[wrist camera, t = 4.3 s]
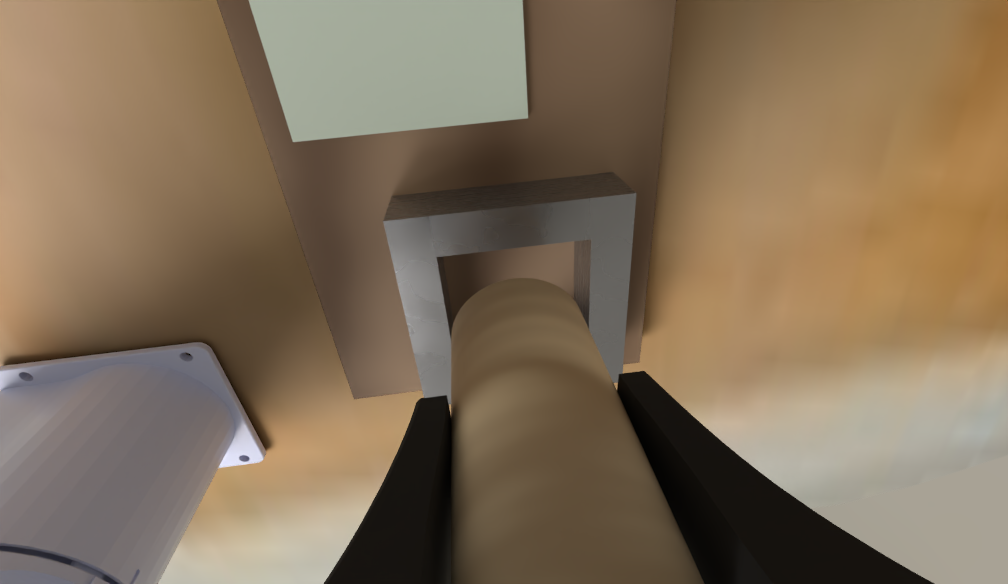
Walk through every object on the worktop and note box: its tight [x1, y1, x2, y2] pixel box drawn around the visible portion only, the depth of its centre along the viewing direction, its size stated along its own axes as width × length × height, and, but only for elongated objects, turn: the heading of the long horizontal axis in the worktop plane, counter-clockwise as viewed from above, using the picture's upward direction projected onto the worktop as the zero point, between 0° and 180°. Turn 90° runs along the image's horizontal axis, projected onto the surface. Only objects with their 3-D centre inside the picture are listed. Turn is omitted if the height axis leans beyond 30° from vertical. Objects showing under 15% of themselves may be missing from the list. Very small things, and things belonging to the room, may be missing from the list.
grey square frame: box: [383, 172, 636, 404], centre depth 18 cm, size 8×8×2 cm
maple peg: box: [451, 278, 704, 584], centre depth 10 cm, size 4×4×8 cm
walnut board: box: [217, 0, 676, 399], centre depth 17 cm, size 14×21×2 cm, turn 4°
